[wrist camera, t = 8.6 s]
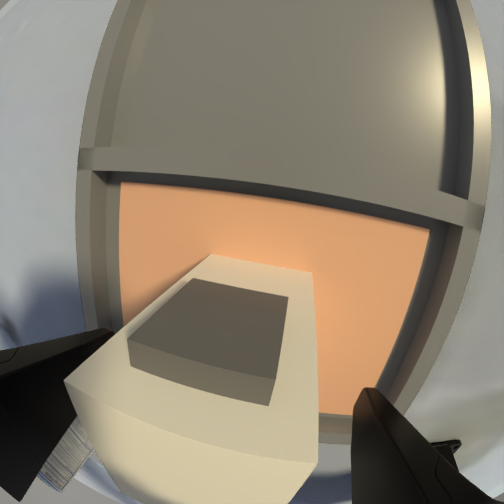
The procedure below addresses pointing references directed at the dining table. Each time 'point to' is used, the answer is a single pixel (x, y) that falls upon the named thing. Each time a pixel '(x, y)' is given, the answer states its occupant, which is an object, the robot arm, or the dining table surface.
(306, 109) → the dock
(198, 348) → the plug
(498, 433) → the dining table surface
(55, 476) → the medicine box
